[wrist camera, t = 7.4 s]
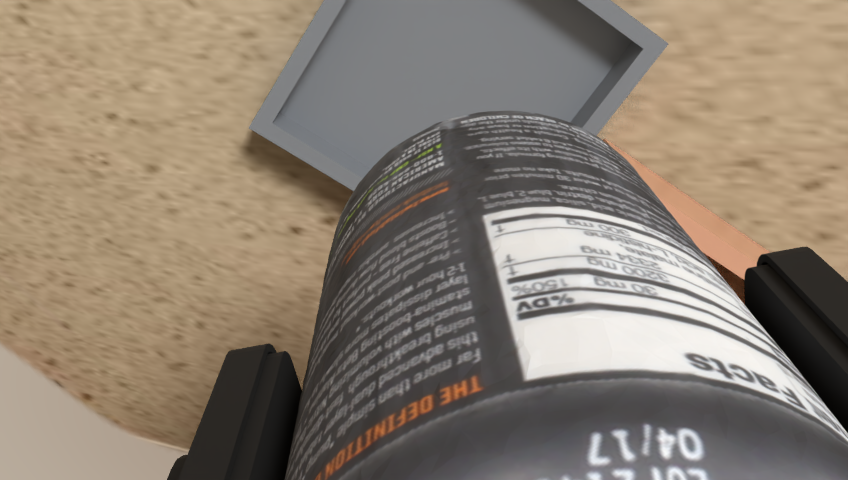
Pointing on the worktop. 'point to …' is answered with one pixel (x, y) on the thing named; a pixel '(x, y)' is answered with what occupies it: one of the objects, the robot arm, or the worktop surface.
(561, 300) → the pill bottle
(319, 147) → the charcoal tray
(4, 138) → the worktop surface
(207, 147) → the worktop surface
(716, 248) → the frame
